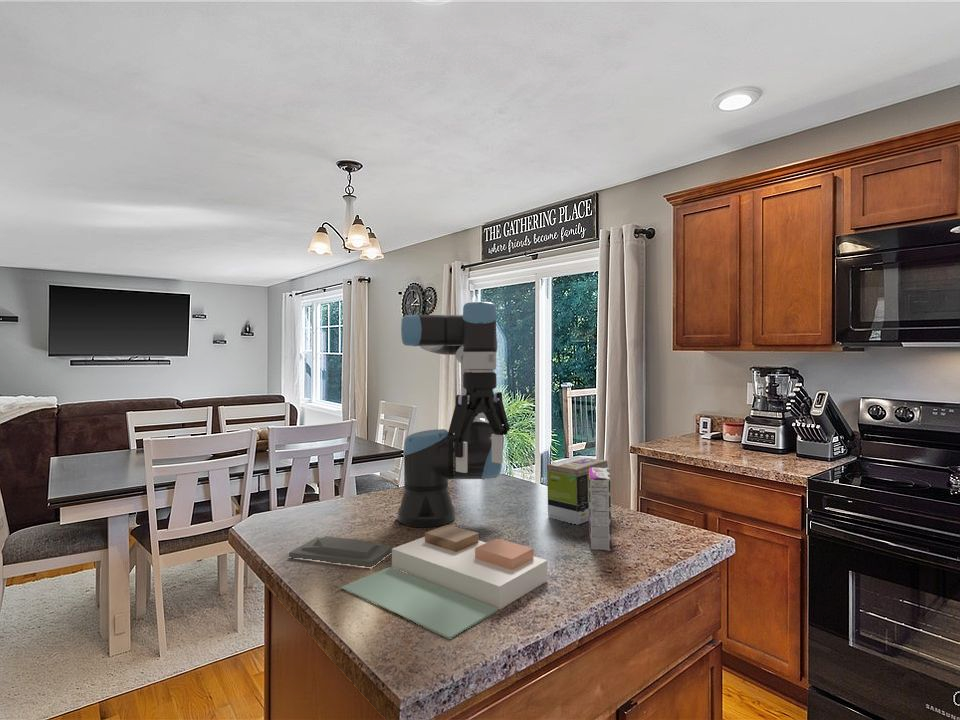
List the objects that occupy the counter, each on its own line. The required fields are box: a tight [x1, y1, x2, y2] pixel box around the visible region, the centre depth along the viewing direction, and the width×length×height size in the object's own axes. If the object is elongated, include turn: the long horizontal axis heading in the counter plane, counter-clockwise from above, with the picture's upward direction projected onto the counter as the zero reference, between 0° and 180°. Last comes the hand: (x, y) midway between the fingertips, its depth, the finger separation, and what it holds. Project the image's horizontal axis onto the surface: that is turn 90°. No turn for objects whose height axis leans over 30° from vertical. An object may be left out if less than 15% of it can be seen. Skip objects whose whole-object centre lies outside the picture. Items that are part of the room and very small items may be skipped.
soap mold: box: [288, 535, 394, 567], centre depth 117 cm, size 10×20×4 cm, turn 72°
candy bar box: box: [588, 467, 612, 552], centre depth 124 cm, size 11×5×16 cm, turn 168°
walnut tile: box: [424, 524, 480, 552], centre depth 113 cm, size 9×7×2 cm
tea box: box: [546, 456, 609, 526], centre depth 144 cm, size 15×10×15 cm, turn 134°
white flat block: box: [391, 536, 548, 611], centre depth 106 cm, size 28×15×4 cm, turn 50°
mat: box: [340, 566, 499, 640], centre depth 96 cm, size 28×12×1 cm, turn 50°
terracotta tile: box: [475, 537, 535, 570], centre depth 104 cm, size 9×7×2 cm
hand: (480, 467), depth 120 cm, fingers open, 12 cm apart
